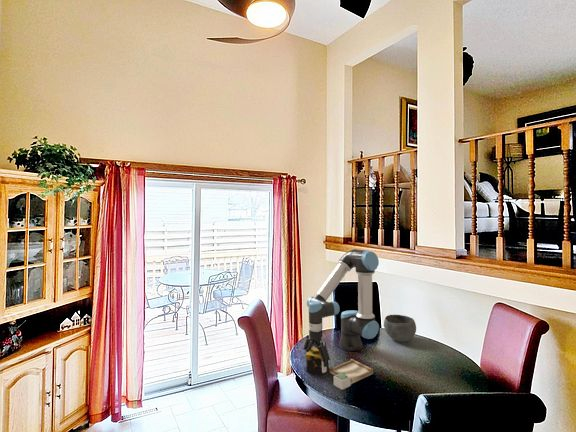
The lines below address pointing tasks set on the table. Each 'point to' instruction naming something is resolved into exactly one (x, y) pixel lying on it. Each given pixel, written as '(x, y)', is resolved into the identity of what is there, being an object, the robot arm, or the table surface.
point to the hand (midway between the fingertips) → (316, 367)
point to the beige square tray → (352, 370)
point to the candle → (314, 361)
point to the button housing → (342, 382)
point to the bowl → (400, 327)
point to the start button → (341, 376)
